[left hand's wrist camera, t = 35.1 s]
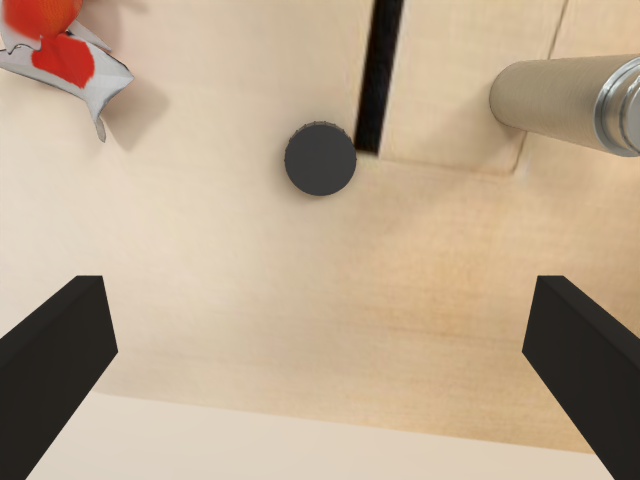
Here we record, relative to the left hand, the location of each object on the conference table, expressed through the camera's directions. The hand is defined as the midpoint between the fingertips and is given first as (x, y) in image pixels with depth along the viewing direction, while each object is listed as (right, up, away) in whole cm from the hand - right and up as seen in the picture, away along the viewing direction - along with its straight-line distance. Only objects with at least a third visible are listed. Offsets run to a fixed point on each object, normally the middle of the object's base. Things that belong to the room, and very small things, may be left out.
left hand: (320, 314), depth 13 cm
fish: (-19, +19, +23) cm, 35 cm away
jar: (+18, +15, +24) cm, 33 cm away
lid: (0, +9, +24) cm, 26 cm away
